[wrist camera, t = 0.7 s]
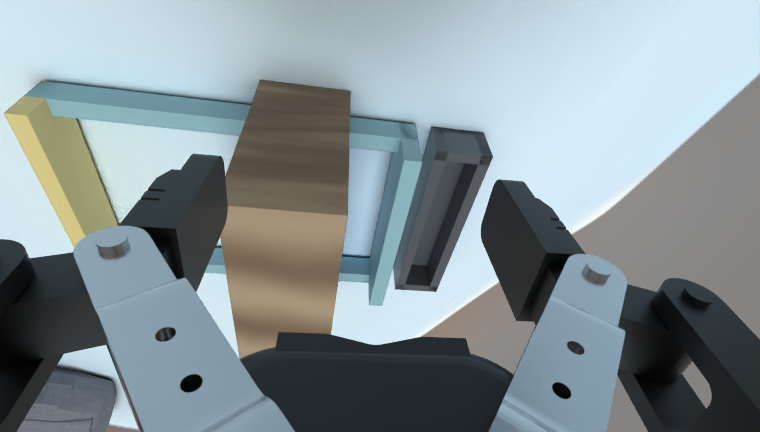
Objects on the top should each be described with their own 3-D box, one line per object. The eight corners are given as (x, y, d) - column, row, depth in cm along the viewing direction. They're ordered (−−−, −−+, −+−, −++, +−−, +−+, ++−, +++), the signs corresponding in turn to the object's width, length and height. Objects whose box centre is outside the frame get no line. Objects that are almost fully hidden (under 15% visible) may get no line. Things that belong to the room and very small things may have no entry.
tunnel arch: (260, 79, 28) (215, 204, 19) (350, 91, 28) (347, 215, 20) (268, 268, 41) (244, 391, 32) (329, 272, 42) (322, 393, 33)
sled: (41, 80, 27) (-2, 117, 23) (415, 124, 30) (422, 162, 27) (113, 249, 38) (91, 289, 35) (380, 267, 41) (382, 305, 38)
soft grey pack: (123, 369, 55) (-67, 341, 48) (94, 437, 49) (-126, 416, 42) (118, 411, 64) (-41, 392, 58) (94, 473, 58) (-87, 459, 52)
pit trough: (431, 126, 31) (437, 150, 28) (483, 132, 31) (492, 156, 29) (393, 264, 42) (395, 289, 39) (431, 267, 42) (436, 291, 40)
